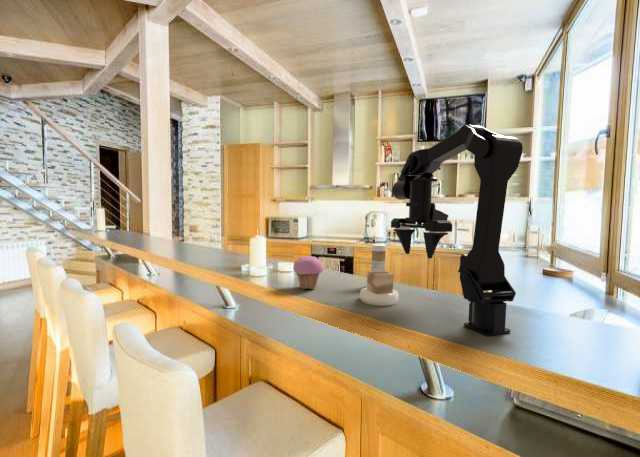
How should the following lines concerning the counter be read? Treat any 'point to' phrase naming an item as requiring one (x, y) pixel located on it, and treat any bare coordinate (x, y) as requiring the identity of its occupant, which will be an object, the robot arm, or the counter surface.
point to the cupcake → (308, 271)
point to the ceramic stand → (379, 298)
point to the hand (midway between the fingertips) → (418, 256)
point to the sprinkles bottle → (378, 257)
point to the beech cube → (379, 282)
